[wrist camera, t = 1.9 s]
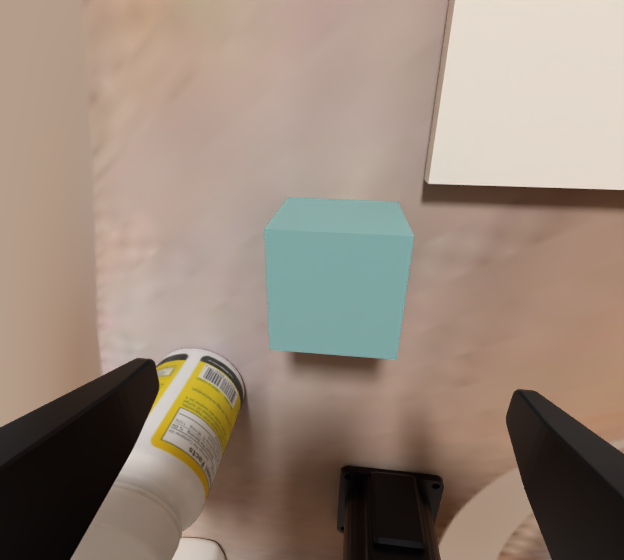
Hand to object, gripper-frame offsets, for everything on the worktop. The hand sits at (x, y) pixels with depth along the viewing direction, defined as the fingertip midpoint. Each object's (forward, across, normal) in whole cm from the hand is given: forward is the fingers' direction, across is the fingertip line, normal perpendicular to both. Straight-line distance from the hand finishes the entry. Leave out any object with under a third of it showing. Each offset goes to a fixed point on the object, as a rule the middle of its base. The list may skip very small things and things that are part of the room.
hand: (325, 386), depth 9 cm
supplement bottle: (+10, +8, +9) cm, 15 cm away
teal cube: (+10, 0, 0) cm, 10 cm away
